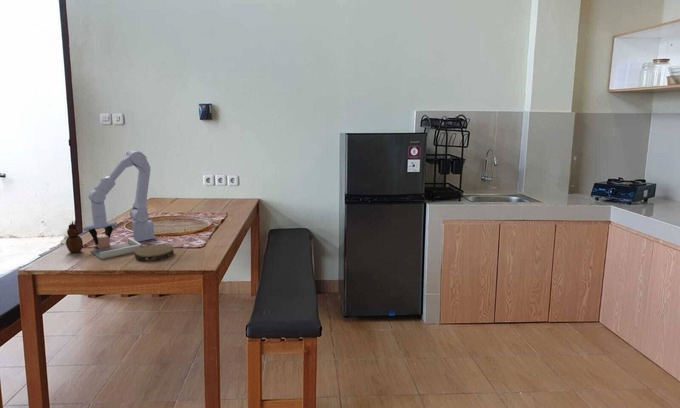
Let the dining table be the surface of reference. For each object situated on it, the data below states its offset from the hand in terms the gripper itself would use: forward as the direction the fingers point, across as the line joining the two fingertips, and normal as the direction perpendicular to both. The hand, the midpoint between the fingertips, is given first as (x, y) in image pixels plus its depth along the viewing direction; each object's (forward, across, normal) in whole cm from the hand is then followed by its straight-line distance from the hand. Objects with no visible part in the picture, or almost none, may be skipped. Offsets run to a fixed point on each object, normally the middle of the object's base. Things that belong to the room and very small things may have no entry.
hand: (102, 243), depth 228 cm
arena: (+1, -2, +13) cm, 13 cm away
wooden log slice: (+2, -12, +32) cm, 34 cm away
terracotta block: (+1, 0, 0) cm, 1 cm away
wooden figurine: (+2, +12, +1) cm, 12 cm away
